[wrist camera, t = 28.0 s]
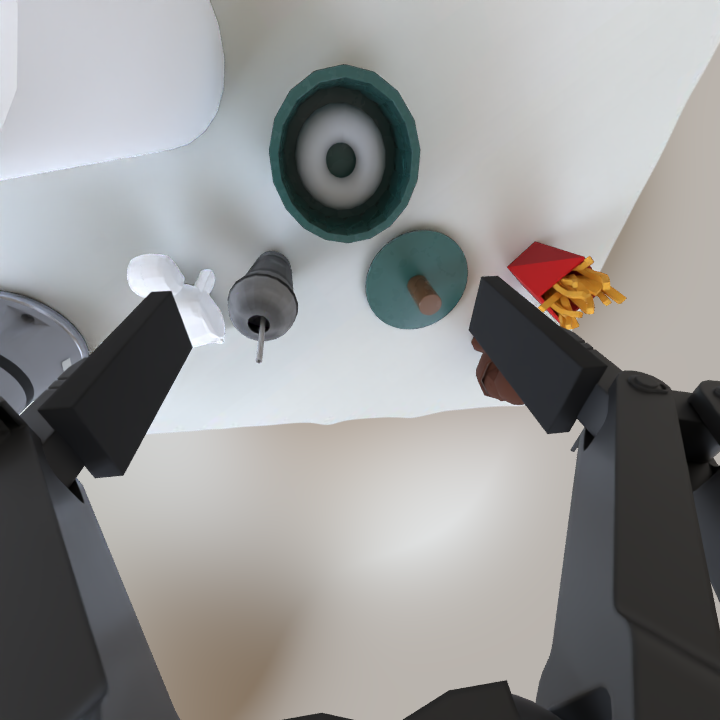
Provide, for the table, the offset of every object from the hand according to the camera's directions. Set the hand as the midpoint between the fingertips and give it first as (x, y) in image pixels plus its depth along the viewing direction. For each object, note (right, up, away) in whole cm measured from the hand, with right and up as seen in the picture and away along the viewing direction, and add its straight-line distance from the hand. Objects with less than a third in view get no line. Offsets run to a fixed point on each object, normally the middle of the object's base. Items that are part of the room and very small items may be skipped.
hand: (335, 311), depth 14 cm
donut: (-1, +21, +22) cm, 31 cm away
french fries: (+25, +12, +33) cm, 44 cm away
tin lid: (+9, +9, +32) cm, 35 cm away
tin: (-1, +21, +23) cm, 31 cm away
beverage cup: (-11, +11, +29) cm, 33 cm away
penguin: (-23, +7, +30) cm, 38 cm away
